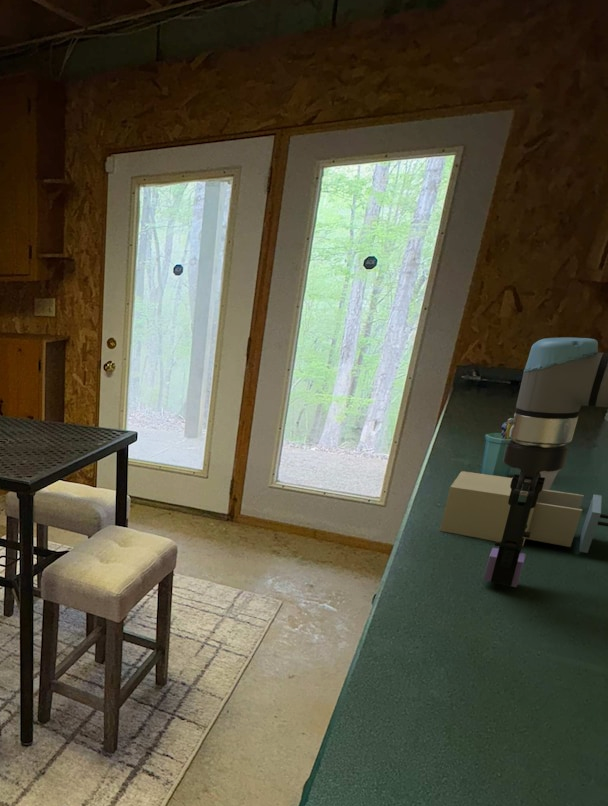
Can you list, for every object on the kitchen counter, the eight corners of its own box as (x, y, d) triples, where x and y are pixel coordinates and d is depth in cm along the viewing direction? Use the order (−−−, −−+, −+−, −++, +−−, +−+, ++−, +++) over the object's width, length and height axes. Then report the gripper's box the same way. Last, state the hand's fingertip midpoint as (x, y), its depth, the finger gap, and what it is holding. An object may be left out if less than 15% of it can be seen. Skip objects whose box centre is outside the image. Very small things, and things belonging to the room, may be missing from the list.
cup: (507, 487, 152) (524, 426, 147) (469, 481, 157) (484, 422, 152) (515, 474, 162) (531, 416, 156) (479, 469, 167) (493, 413, 161)
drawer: (623, 538, 120) (636, 500, 117) (624, 559, 111) (638, 519, 108) (509, 519, 131) (519, 484, 128) (502, 537, 122) (513, 499, 119)
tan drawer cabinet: (529, 526, 129) (542, 482, 126) (523, 546, 120) (536, 499, 116) (451, 512, 138) (461, 471, 134) (439, 530, 128) (450, 486, 125)
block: (519, 578, 105) (526, 553, 104) (516, 587, 102) (523, 562, 101) (486, 571, 108) (492, 547, 106) (482, 580, 105) (489, 555, 103)
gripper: (513, 428, 105) (482, 555, 113) (501, 450, 93) (467, 590, 101) (572, 433, 100) (535, 565, 109) (567, 456, 88) (526, 603, 97)
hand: (502, 577), depth 105 cm, fingers closed on block, 4 cm apart
